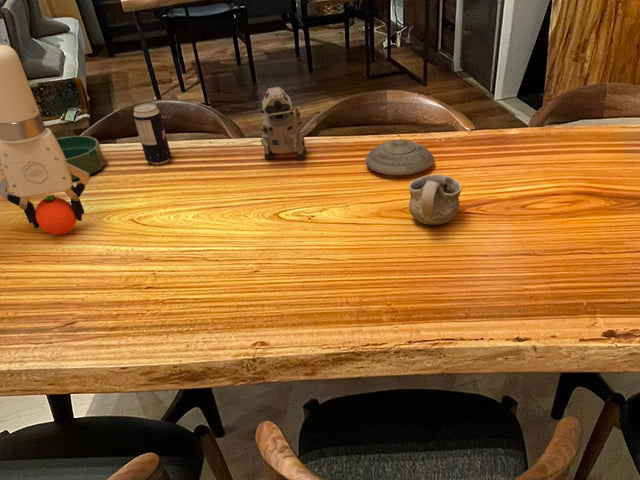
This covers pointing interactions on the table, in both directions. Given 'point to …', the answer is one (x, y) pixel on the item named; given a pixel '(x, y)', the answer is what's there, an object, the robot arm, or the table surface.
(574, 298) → the table surface
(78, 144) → the bowl
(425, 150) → the flying saucer
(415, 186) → the mug
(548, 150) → the table surface
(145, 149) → the beverage can
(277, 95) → the figurine
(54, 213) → the clementine
